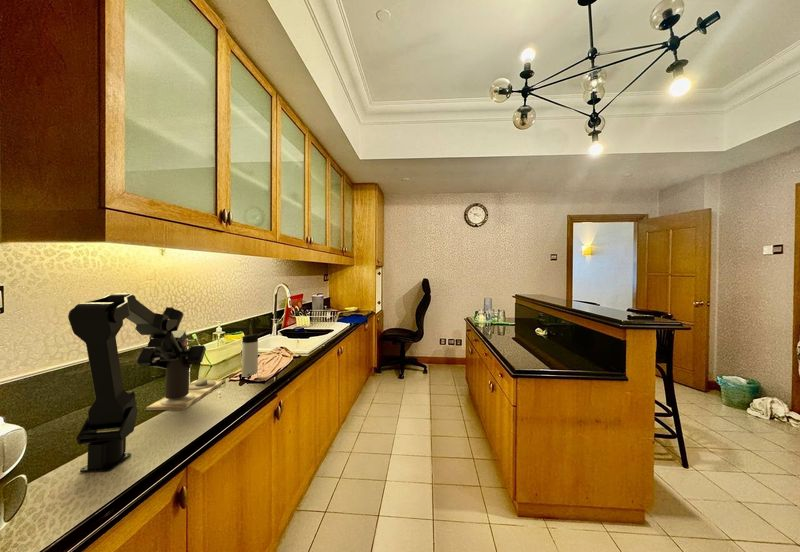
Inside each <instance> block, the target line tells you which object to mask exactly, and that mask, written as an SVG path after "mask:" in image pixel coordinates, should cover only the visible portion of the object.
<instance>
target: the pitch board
mask: <svg viewBox="0 0 800 552" xmlns="http://www.w3.org/2000/svg"><path fill="white" fill-rule="evenodd" d="M225 381H226V379H203V378H201V379H195V380H194V381H191V382H189V393H188V395H186V396H184V397H181V398H176V399H167V398H165V396H164V397H163V398H161V399H159V400H157V401H155V402H153V403H151V404H150V405H148V406H146V408H145V410H146V411H178V410H179V411H181V410H182V411H183V410H185V409H187V408H188V407H190V406H191V405H193V404H194V403H196V402H197V401H199V400H201V397H202V398H203V397H206V395H208V394H210V393H211V392H212V391H213V390H215V389H216V387H217V388H218V387H220V386H221V385H222V383H223V384H224V383H225ZM219 385H220V386H219Z"/></svg>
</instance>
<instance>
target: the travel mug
mask: <svg viewBox="0 0 800 552" xmlns="http://www.w3.org/2000/svg"><path fill="white" fill-rule="evenodd" d="M258 339H259V333H254V334H253V333H252V334H247V335H245V336H244V335H243V336H242V345H241V378H242V377H249V376H252V375H254V374H256V373H257V374H258V362H259V359H258V358H259V357H258V356H259V340H258Z"/></svg>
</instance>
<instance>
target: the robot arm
mask: <svg viewBox="0 0 800 552" xmlns="http://www.w3.org/2000/svg"><path fill="white" fill-rule="evenodd" d="M67 317H68V318H67V319H68V321H69V325H70V328H71V330H72V332H73V334H74V335H75V336H77V337H78V339H80V340H81V341H82V342H84V343H85V346H86V351H87V359H88V363H89V364H88V365H89V370H90V375H91V380H92V386H93V393H94V397H95V399H94V401H93V402H92V404H91V406H90V407H89V409H88V410H87V417H86V420H85V421H84V423H83V425H82V427H81V429H80V430H79V432H78V435H77V436H76V442H77V444H78V445H79V446H80V445H81V446H82V445H85V444H88V445H87V464H86V465H85V466H83V467H82V468H80V469H79V472H80V473H89V472H94V473H95V472H108V471H112V469H114V468H115V467H117V466H118V465H119V464H121V463H122V462H124V461H125V460H127V459H128V458H130V457H131V456H132V453H131V452H126V449H127V448H126V446H127V445H126V444H127V442H126V441H127V440H126V439H127V437H129V436H130V434H132V433H133V432H134V431H135V427H136V421H137V417H138V407H137V406H138V403H137V400H136V393H135V391H126V390H125V389H124V385H123V377H122V371H121V365H120V358H119V352H118V351H119V349H118V344H117V337H116V336H117V334H118V333H119V332H120V331H121V329H122V327H123V325H124V320H125V319H127V320H128V321H130V322H131V323H133V324H135V330H136V331H137V333H138V334H140V335H141V336H149V338H148V339H149V340H148V343H147V347H146V346H145V347H144V348H143V347H142V349H141V351H140V353H139V355H138V356H137V358H136V364H137V365H138V367H149V368H152V367H153V368H157V369H158V368H159V369H163V370H166V361H174V360H177V359H178V358H179V357H186V361H185V363H184V365H185V366H187V367H188V368H189V369H191V368H192V366H193V365H194V364H201V363H202V362H203V360H204V357H205V354H206V351H207V348H206V346H205V345H204V344H200V345H199V344H197V345H195V344H194V345H191V346H190V347H188V348H187V349H186V350H181V348H183V347H184V344H183V342H184V341H185V340H186V339H187V338H188V337H187V332H186V330H185V329H179V327H180V325H181V322H182V320H183V318H184V312H183V311H181V310H178V309H176V308H174V307H173V306H171V307H170V306H166V307H165V309H164V310H163V312H162V313H157V312H153V311H152V310H151V309H150V308H148V307H147V306H145V305H144V304H143V303H142V302H141V301H140V300H138V299H137V298H136V296H135V295H134V294H132V293H110V294H108V295H105V296H103V297H101V298H97V299H93V300H88V301H85V302H80V303H78V304H76V305H75V306H74V307H73V308H71V309H70V311H69V312H68V316H67ZM187 340H188V339H187ZM100 430H102V431H100Z"/></svg>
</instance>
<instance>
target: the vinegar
mask: <svg viewBox="0 0 800 552" xmlns="http://www.w3.org/2000/svg"><path fill="white" fill-rule="evenodd" d="M183 344H184V347H183V348H181V350H187V349H186V348H187V346H188V339H186V340H185V341H184V342H183ZM185 361H186V357H179V358H178V359H177V360H174V361H166V369H165V391H164V392H165V394H164V397H165V398H167V399H176V398H181V397H184V396H186V395H188V393H189V384H190V368H188V367H187V366H185V365H184V363H185Z"/></svg>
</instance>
